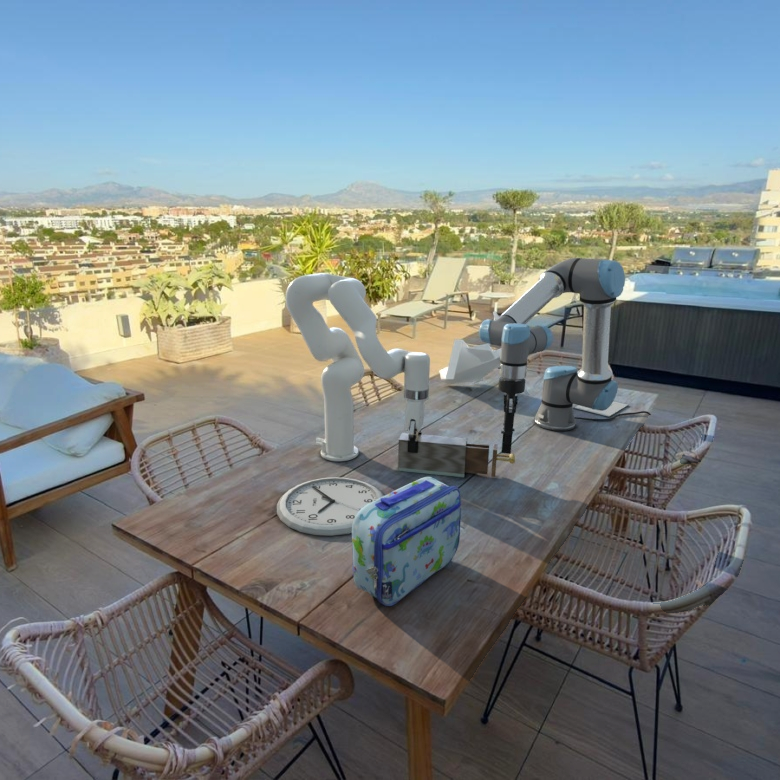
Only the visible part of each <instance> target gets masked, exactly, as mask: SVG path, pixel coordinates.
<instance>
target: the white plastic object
mask: <svg viewBox="0 0 780 780" xmlns="http://www.w3.org/2000/svg"><path fill="white" fill-rule="evenodd" d="M492 315H493V319H494V320H496V319H497V318H498V317H500V315H499V314H498V312H497V311H496V310H495V311H492ZM490 345H491V344H489V343H483V344H479V345H473V346H469V345H468V343H466V342H465V340H464V339H463V338H460V339H458V338H454V340H453V344H452V349H451V353H450V357H449V362H448V366H446V367H444V368H442V369H440V370H439V371H438V372H439V376H440V381H442V383H443V384H444V385H445V386H449V385H458V384H467V383H468V384H469V383H473V384H477V383H480V382H482V381H484V378H485V377H486V376H487V375H489V374H490V373H492V372H494V371H495V370H496V369H498V366H501V365H500V361H501V347H500V348H498V349H496V350H495V349H493V348H492V347H491V346H490ZM524 379H525V390H524V392H523V393H524V395H525V396H526V397H528V396H531V395H530V390H529V388H528V387H529V386H528V384H527V381H526V378H524ZM515 396H517V397H518V394H515Z"/></svg>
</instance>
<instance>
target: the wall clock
mask: <svg viewBox="0 0 780 780" xmlns="http://www.w3.org/2000/svg"><path fill="white" fill-rule="evenodd" d="M383 496H385V494H384V493H383V492H382V491H381V490H380V489H379V488H377V487H376V486H374V485H372V484H371V483H369V482H365V481H362V480H359V479H355V478H349V477H338V476H337V477H335V476H333V477H332V476H331V477H322V478H317V479H312V480H307V481H305V482H302V483H299V484H297V485H295V486H293V487H292V488H290V489H288V490H287V491H286V492H285V493H284V494H283V495H281V496H280V498H279V499H278V502H277V503H276V515H277V517H278V518H279V520H280V521H281V522H282V523H283V524H285V525H286V526H287V527H288V528H290V529H293V530H295V531H297V532H299V533H303V534H308V535H312V536H327V537H328V536H329V537H331V536H332V537H333V536H342V535H350V534H352V526H353V521H354V518H355V516H356V515H357V513H358V512H359V510H360V509H361V508H362V507H364V506H365V505H367V504H369V503H371V502H373V501H375V500H377V499H379V498H381V497H383Z"/></svg>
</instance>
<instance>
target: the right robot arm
mask: <svg viewBox="0 0 780 780" xmlns="http://www.w3.org/2000/svg"><path fill="white" fill-rule="evenodd" d="M625 285H626V275H625V270H624V268H623V266H622V264H621V262H619V261H618V260H613V259H612V260H611V259H607V258H581V257H572V258H568V259H565V260H562V261H559V262H558V263H555V264H554V265H552V266H550V267H549V268H548V269H546V270H545V271H544V272H542V273H541V275H539V277H538V279H537V282H536V283H535V284H534V285H532V286H531V288H529V289H528V290H527V291H526V292H525V293H524V294H523V295H522V296H521V297H519V298H518V299H517V300H516V301H515V302H514V303H513V304H512V305H510V306H509V307H508V308H507V309H506V310H505V311H504V312H502V314H500V315H499V317H498V318H497V319H496V320H495V319H494V318H493V319H492V318H491V319H485V320H483V321H482V322H481V324H480V325H479V328H478V335H479V336H478V337H479V339H480V341H481V342H483V343H484V344H487V343H488V344H489V345H491V346H496V347H497V346H499V347H500V348H501V361H500V366H498V367H497V369H498V370H499V378H498V387H497V389H498V391H500V392H501V393H503V412H504V415H503V416H504V417H503V428H502V429H503V430H501V431H500V434H502V442H501V454H506V455H510V454H512V442H513V434H514V432H515V431H516V430H515V428H514V423H515V414H516V413H517V405H518V401H519V398H518V395H520V394H522V393H524V390H525V381H526V378H527V371H528V357H529V355H532V354H536V353H542V352H543V351H545V350H548V349H549V348H550V347H551V346H552V345H553V341H554V333H553V331H552V330H551V329H550V328H549V327H548V326H546V325H535V326H532V325H531V326H530V325H528V322H530V321H531V320H532V319H533V318H534V317H535V316H536V315H537V314H538V313H539V312H540V311H541V310H543V308H545V306H546V305H548V304H549V303H550V302H551V301H552V300H553V299H557V298H559V297H561V295H563V294H564V293H565V294H566V293H573V294H579V303H580V304H582V305H583V324H582V328H583V329H582V352H581V353H582V354H581V368H580V369H579V370H578V368H577V367H575V366H571V365H555V366H554V365H553V366H550V367H547V368H546V369H545V371H544V375H543V381H542V382H543V383H542V394H541V402H540V405H539V407H538V410H537V411H536V413H535V416H534V424H535V425H536V426H537V427H539V428H542V429H544V430H549V431H556V432H567V431H572V430H574V429H575V428H576V420H583V421H592V422H593V421H594V422H606V421H612V420H614V419H616V418H617V417H621V416H629V415H639V414H648V416H652V414H651V413H650V412H649V411H646V410H640V411H634V412H624V413H619V414H616V415H614V416H612V417H608V418H589V417H580V416H579V417H577V416H575V413H574V407H573V405H575V406H578V405H580V406H584V407H588V408H591V409H596V410H600V411H604V410H606V409H608V408H609V407H610V405H611V404H612V402H613V401H614V402H615V399H616V396H617V394H618V389H619V384H618V382H617V380H614V379H613V373H612V371H611V370H609V368H608V367H609V352H610V333H611V315H612V313H611V312H612V305H613V304H614V303H615V302H616V301H617V298H619V297H620V296H622V294H623V291H624V287H625ZM524 378H525V379H524ZM515 394H516V395H517V396H515Z"/></svg>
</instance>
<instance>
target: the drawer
mask: <svg viewBox="0 0 780 780" xmlns="http://www.w3.org/2000/svg"><path fill="white" fill-rule="evenodd" d="M489 455H490V444H486V443H473V442H467V444H466V456H465V473H467V474H477V475H478V474H479V475H488V471H489V470H488V469H489V458H490V457H489ZM491 457H492V458H491V472H490V473H491V474H490V477H492V478H493V477H494V478H495V477H496V473H497V472H496V471H497V461H502V462H509V463H510V464H515V462H516V455H515V454H514V453H511V454H503V453H498V444H497V443H493V445H492V456H491Z"/></svg>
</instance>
